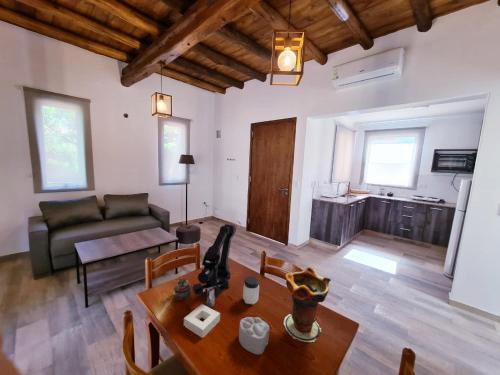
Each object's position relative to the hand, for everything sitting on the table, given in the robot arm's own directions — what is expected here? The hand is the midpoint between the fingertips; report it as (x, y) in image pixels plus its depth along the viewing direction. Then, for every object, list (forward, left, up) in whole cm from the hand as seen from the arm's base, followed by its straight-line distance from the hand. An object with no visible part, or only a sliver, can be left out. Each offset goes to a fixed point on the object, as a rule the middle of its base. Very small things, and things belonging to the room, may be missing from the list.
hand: (210, 299), depth 111 cm
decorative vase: (-35, +34, -3) cm, 49 cm away
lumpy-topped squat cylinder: (-9, +30, -3) cm, 31 cm away
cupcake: (+12, -13, -3) cm, 18 cm away
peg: (0, 0, -2) cm, 2 cm away
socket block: (+8, +11, -2) cm, 14 cm away
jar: (-22, +6, -3) cm, 23 cm away
